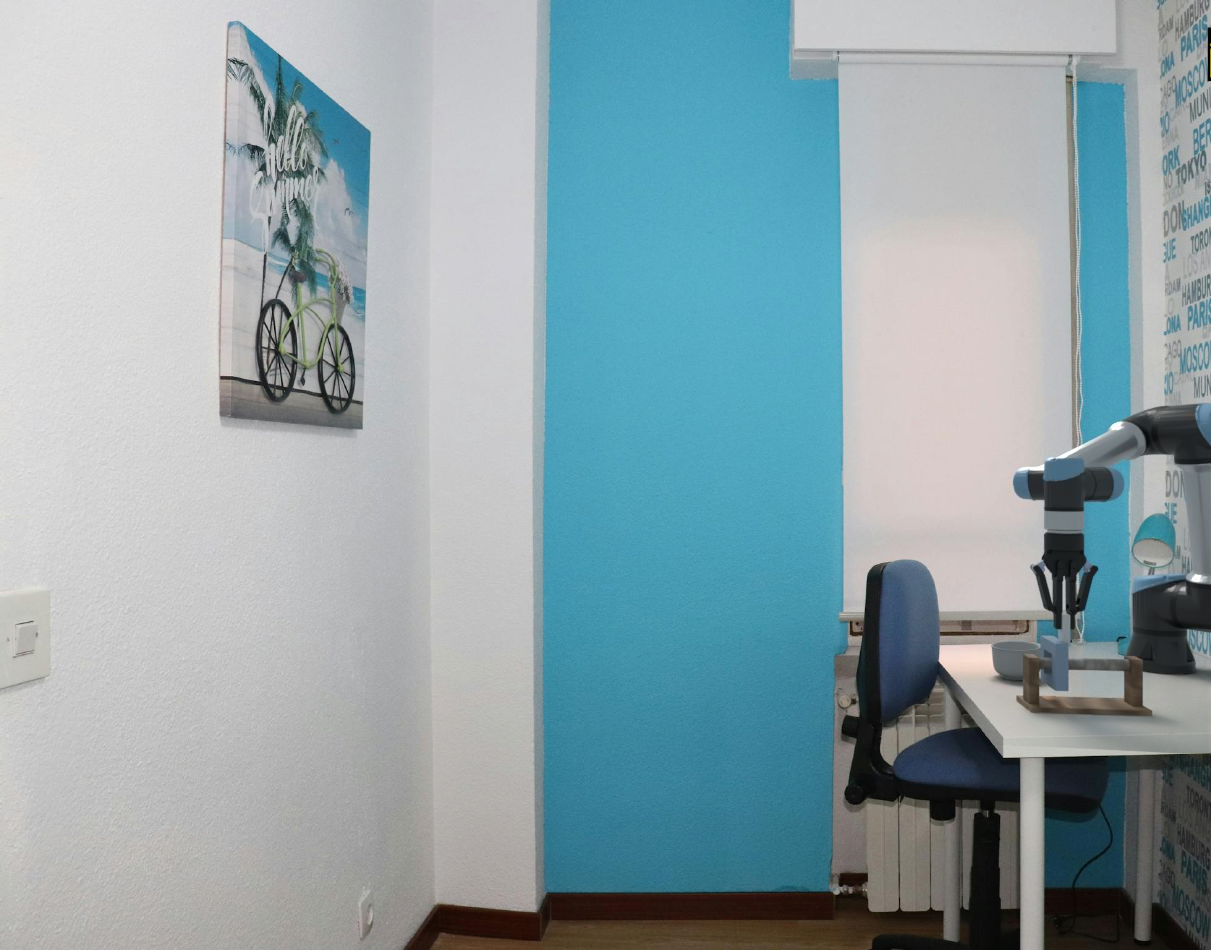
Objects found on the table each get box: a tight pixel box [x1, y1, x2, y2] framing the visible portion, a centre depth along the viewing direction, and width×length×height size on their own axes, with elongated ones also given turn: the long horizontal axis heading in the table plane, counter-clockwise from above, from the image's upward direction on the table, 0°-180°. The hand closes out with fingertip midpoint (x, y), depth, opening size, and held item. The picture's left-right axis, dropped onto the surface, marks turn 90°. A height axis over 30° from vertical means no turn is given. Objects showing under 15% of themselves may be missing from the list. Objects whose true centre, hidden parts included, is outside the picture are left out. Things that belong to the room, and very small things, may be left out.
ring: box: [1039, 635, 1070, 692], centre depth 193 cm, size 2×9×10 cm, turn 172°
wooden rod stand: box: [1015, 654, 1153, 717], centre depth 192 cm, size 23×10×10 cm, turn 82°
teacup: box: [990, 639, 1041, 681], centre depth 221 cm, size 14×11×8 cm
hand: (1064, 645), depth 193 cm, fingers closed
